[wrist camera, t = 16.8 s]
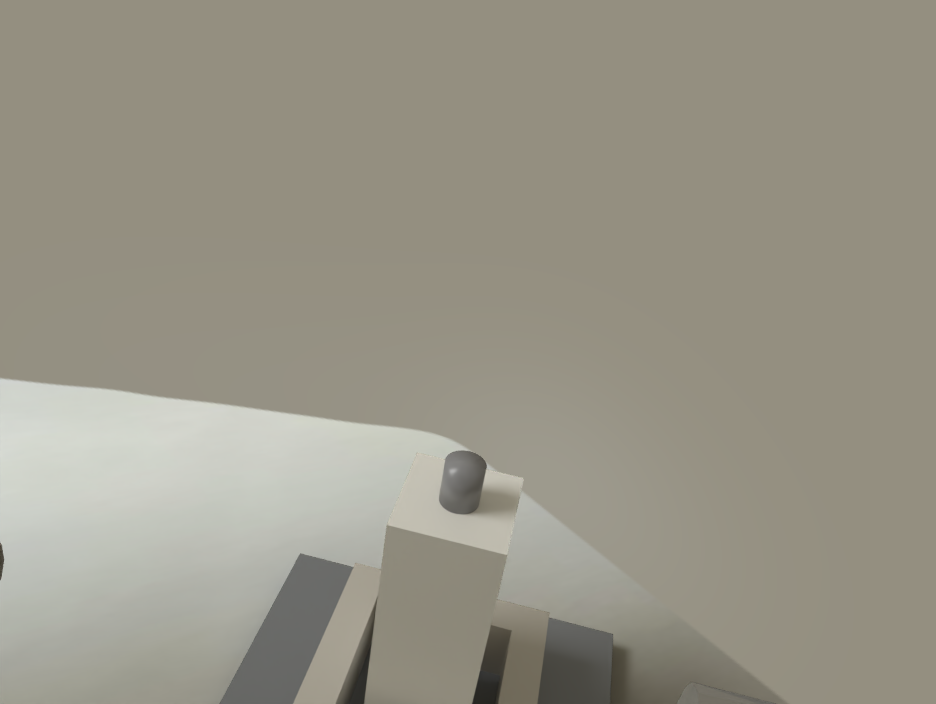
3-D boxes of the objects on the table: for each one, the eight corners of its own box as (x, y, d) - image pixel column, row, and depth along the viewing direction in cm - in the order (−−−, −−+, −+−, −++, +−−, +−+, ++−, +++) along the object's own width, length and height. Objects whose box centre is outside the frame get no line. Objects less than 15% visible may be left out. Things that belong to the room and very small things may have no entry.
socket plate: (153, 844, 28) (147, 779, 26) (299, 567, 40) (302, 508, 38) (592, 975, 27) (621, 917, 25) (608, 647, 39) (628, 590, 37)
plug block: (358, 747, 32) (391, 487, 25) (386, 665, 35) (422, 417, 28) (455, 774, 31) (516, 517, 24) (473, 689, 35) (531, 443, 28)
